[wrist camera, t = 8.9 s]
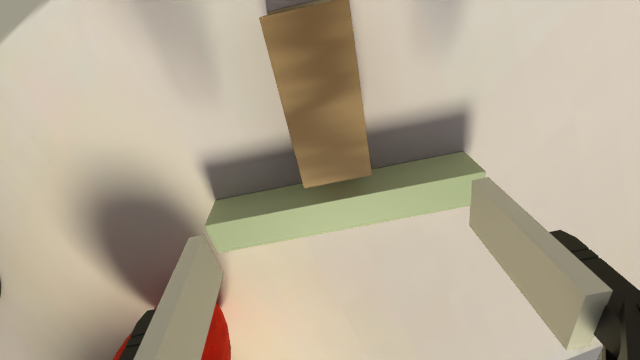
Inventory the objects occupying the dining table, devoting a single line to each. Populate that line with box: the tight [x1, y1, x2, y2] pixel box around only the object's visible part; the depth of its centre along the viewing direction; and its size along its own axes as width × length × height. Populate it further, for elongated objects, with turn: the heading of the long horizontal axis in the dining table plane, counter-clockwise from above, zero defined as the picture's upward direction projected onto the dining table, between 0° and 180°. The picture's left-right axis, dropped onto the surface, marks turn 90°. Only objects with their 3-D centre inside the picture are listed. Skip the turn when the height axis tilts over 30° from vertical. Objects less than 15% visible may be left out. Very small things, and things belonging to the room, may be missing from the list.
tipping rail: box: [205, 151, 486, 253], centre depth 21 cm, size 18×2×3 cm, turn 101°
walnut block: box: [259, 0, 372, 188], centre depth 17 cm, size 4×4×9 cm
